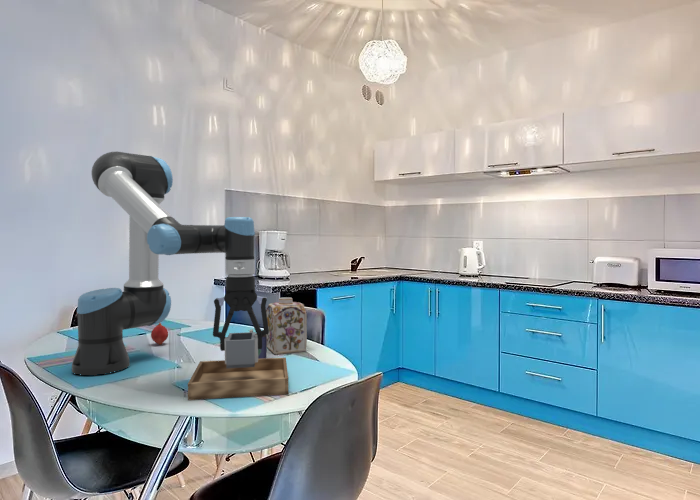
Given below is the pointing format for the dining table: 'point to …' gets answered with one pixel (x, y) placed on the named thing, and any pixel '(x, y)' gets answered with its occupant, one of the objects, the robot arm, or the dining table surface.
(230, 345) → the small crate
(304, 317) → the decorative jar
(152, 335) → the onion
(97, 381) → the dining table surface
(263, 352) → the flask
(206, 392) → the tray
